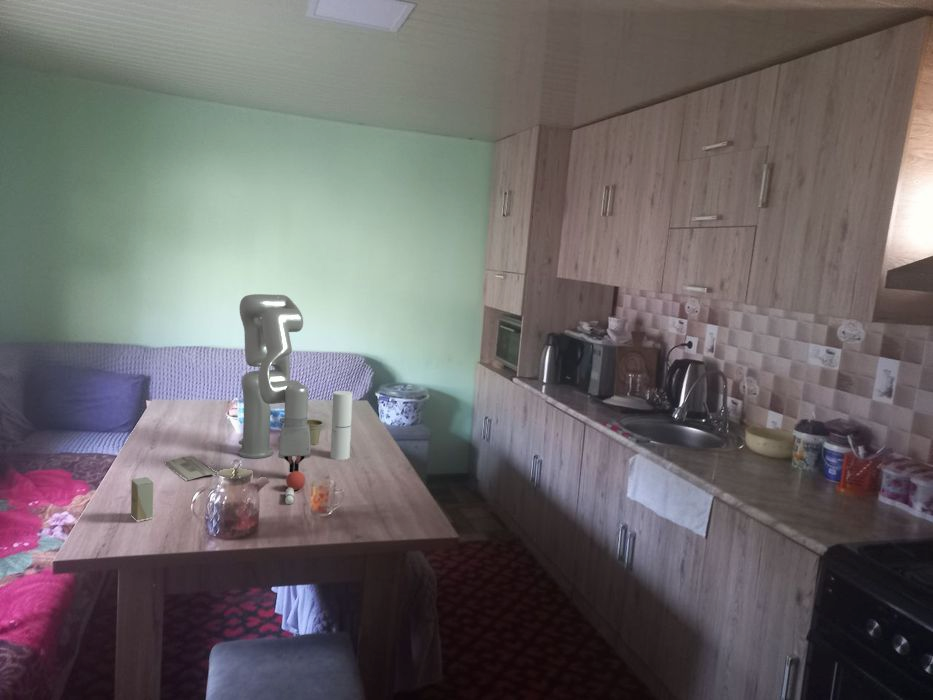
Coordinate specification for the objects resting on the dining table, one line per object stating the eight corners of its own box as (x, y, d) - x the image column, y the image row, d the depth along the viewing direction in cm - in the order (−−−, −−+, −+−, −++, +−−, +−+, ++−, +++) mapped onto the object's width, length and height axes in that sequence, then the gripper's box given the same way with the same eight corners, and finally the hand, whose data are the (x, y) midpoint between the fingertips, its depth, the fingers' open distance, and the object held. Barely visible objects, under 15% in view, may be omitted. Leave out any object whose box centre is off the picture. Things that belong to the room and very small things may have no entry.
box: (130, 517, 183) (130, 479, 182) (146, 513, 186) (147, 476, 185) (137, 523, 180) (137, 484, 178) (153, 519, 183) (153, 481, 181)
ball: (282, 480, 208) (281, 482, 214) (296, 492, 208) (295, 494, 214) (296, 466, 211) (294, 468, 216) (310, 478, 211) (308, 481, 217)
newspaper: (223, 477, 221) (223, 470, 221) (186, 487, 213) (186, 480, 213) (198, 458, 238) (198, 452, 237) (163, 467, 230) (162, 460, 229)
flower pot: (299, 447, 258) (299, 425, 257) (297, 440, 267) (298, 419, 266) (323, 446, 261) (324, 425, 260) (320, 439, 270) (321, 419, 269)
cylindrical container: (345, 461, 245) (348, 395, 242) (327, 458, 246) (330, 393, 243) (352, 455, 252) (355, 392, 249) (334, 453, 253) (337, 390, 250)
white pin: (286, 495, 208) (286, 505, 200) (285, 488, 207) (284, 497, 199) (294, 493, 208) (294, 503, 200) (293, 486, 208) (292, 496, 200)
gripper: (272, 424, 215) (270, 478, 217) (318, 424, 219) (316, 477, 221) (272, 418, 222) (271, 471, 224) (317, 419, 226) (315, 470, 228)
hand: (293, 474), depth 223 cm, fingers closed
